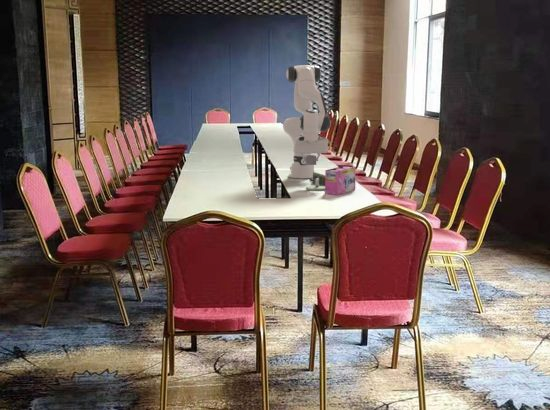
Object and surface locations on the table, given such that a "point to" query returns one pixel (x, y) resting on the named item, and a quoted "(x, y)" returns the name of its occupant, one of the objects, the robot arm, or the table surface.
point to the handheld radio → (321, 178)
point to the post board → (312, 188)
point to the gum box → (339, 180)
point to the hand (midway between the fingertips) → (310, 160)
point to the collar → (310, 160)
